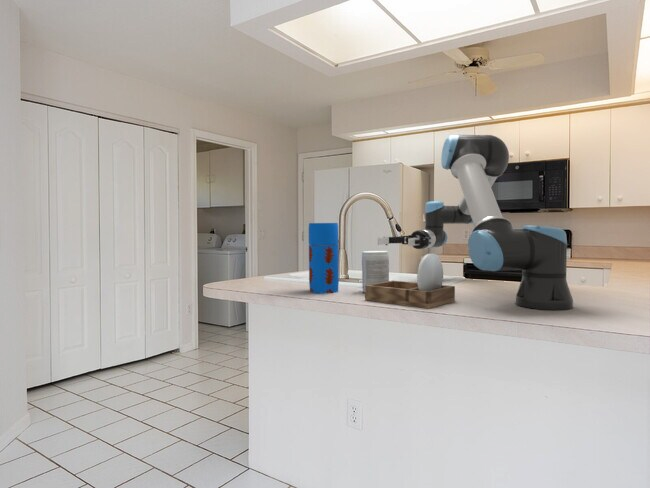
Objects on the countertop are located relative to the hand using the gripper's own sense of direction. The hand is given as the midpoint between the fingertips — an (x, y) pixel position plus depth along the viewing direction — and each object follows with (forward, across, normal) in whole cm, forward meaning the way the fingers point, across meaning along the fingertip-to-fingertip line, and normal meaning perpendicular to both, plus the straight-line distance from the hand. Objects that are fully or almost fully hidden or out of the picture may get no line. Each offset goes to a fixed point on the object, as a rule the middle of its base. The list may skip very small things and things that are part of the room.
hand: (393, 241), depth 167 cm
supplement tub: (+10, +1, -18) cm, 21 cm away
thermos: (+20, +17, -18) cm, 32 cm away
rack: (+18, -18, -17) cm, 31 cm away
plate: (+18, -26, -16) cm, 35 cm away
